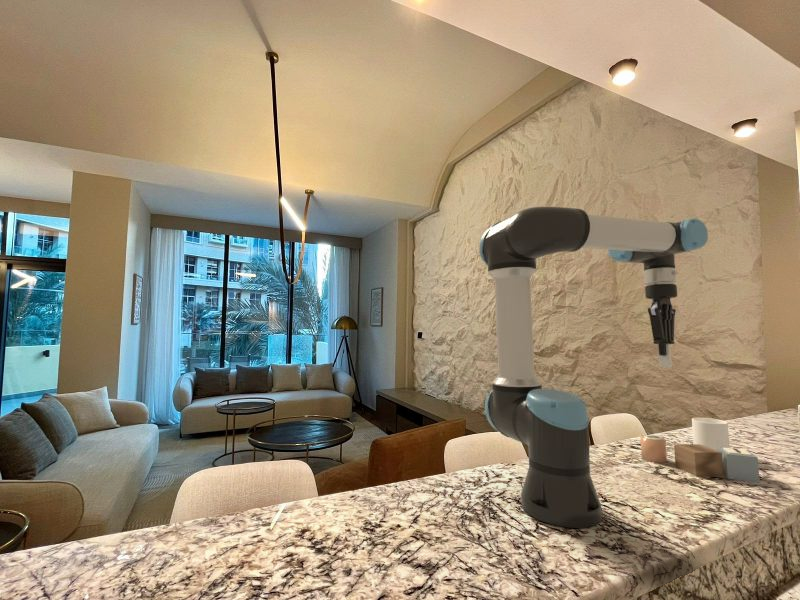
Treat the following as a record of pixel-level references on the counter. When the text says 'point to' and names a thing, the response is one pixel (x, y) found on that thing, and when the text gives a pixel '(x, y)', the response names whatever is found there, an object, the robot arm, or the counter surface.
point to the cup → (710, 433)
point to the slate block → (740, 464)
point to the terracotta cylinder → (653, 449)
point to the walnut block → (698, 460)
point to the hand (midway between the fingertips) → (665, 367)
